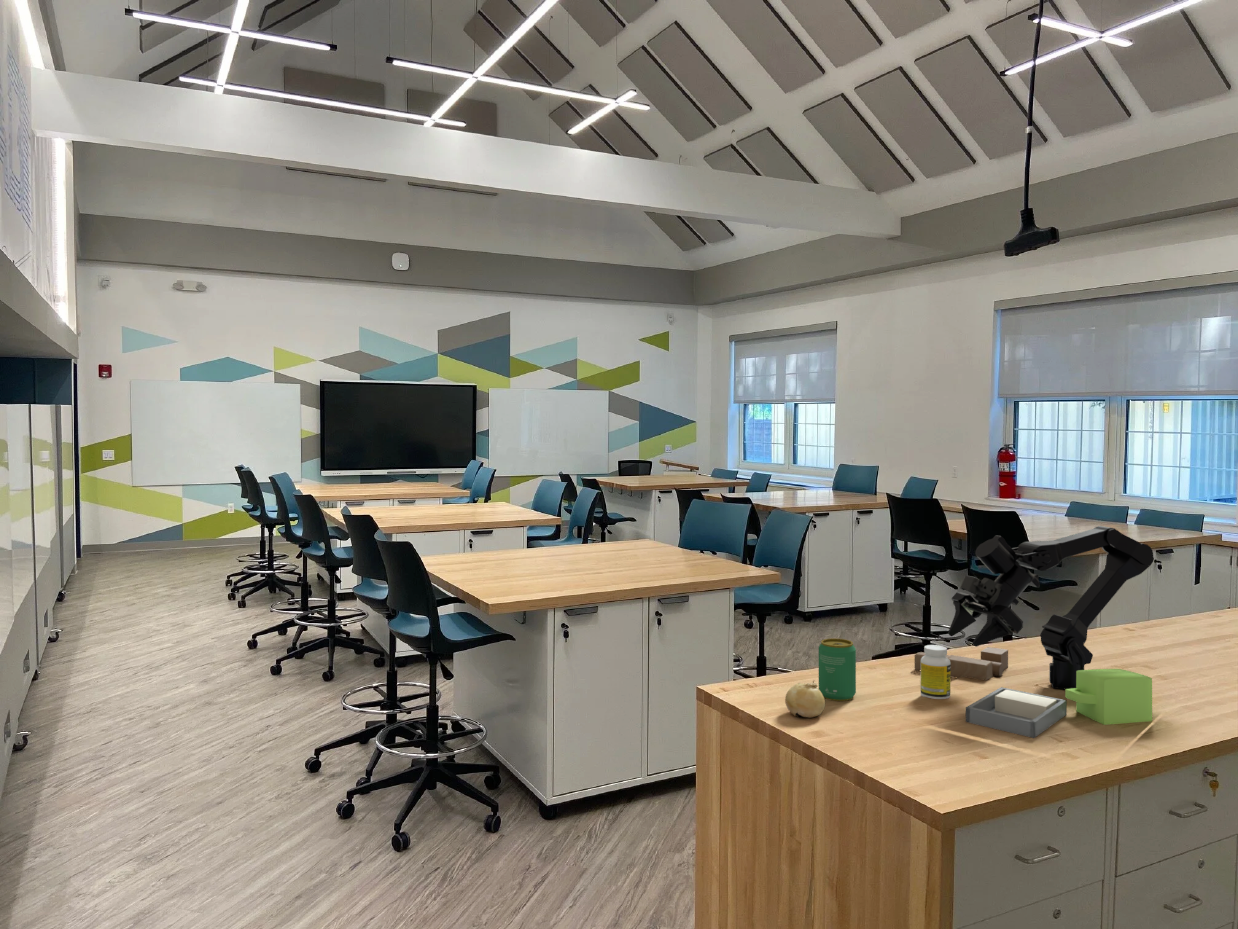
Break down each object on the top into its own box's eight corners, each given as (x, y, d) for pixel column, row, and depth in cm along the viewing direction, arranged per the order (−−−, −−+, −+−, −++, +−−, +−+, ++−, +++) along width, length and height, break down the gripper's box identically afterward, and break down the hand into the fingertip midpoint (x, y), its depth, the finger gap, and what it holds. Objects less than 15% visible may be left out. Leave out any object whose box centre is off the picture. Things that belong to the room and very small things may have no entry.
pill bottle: (952, 702, 184) (953, 651, 184) (922, 701, 185) (922, 650, 185) (947, 693, 190) (948, 644, 190) (918, 692, 192) (918, 643, 191)
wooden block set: (990, 662, 197) (913, 649, 209) (990, 686, 197) (913, 672, 209) (1013, 646, 210) (939, 635, 221) (1012, 669, 210) (939, 657, 222)
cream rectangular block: (1006, 703, 181) (1006, 689, 181) (1056, 714, 174) (1056, 699, 174) (994, 710, 177) (994, 696, 177) (1046, 721, 170) (1046, 706, 170)
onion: (802, 724, 172) (802, 689, 172) (777, 712, 179) (777, 679, 179) (832, 717, 176) (832, 683, 176) (807, 706, 183) (807, 673, 183)
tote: (1001, 703, 183) (1001, 687, 183) (1066, 717, 174) (1066, 700, 174) (965, 724, 170) (965, 707, 170) (1034, 741, 161) (1034, 722, 161)
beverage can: (862, 695, 190) (862, 641, 189) (844, 704, 184) (844, 648, 183) (830, 688, 195) (829, 636, 195) (811, 696, 189) (811, 642, 189)
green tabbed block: (1134, 709, 180) (1134, 664, 180) (1172, 723, 170) (1172, 675, 170) (1057, 713, 177) (1057, 667, 177) (1091, 727, 167) (1091, 678, 167)
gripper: (959, 557, 198) (915, 606, 196) (1011, 570, 180) (963, 625, 178) (989, 589, 200) (946, 639, 198) (1044, 605, 182) (996, 660, 180)
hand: (961, 639), depth 189 cm, fingers open, 9 cm apart
